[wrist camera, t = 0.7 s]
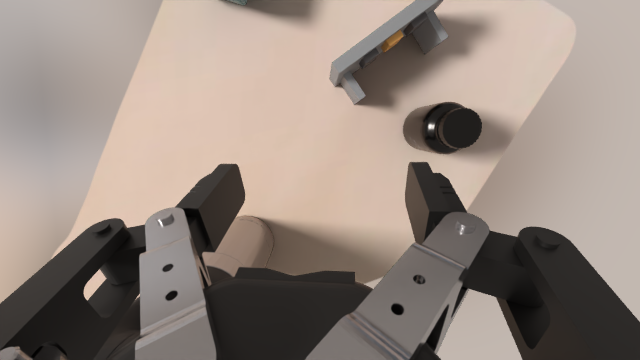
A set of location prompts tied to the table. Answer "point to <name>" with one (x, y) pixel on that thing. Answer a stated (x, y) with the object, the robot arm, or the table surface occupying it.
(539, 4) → the table surface
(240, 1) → the flower pot
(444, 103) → the supplement bottle
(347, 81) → the panel
